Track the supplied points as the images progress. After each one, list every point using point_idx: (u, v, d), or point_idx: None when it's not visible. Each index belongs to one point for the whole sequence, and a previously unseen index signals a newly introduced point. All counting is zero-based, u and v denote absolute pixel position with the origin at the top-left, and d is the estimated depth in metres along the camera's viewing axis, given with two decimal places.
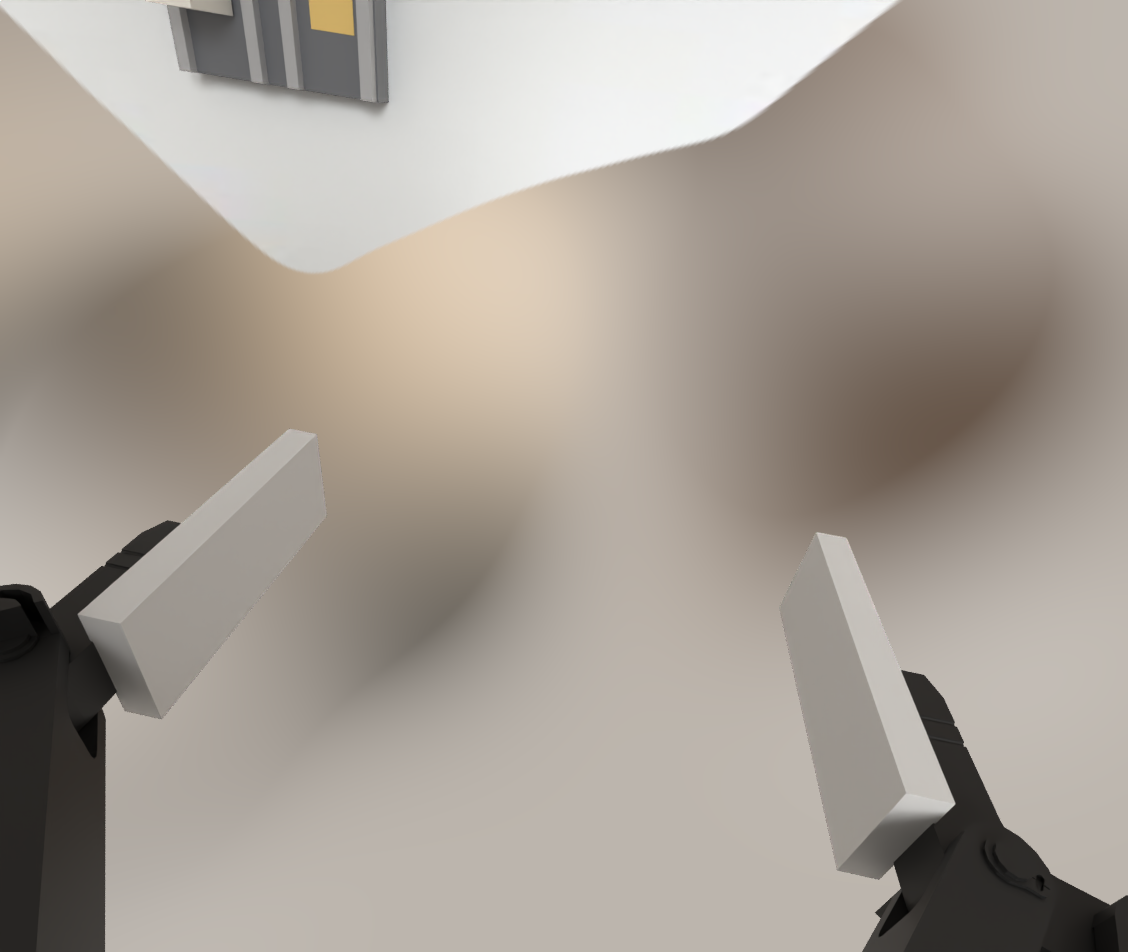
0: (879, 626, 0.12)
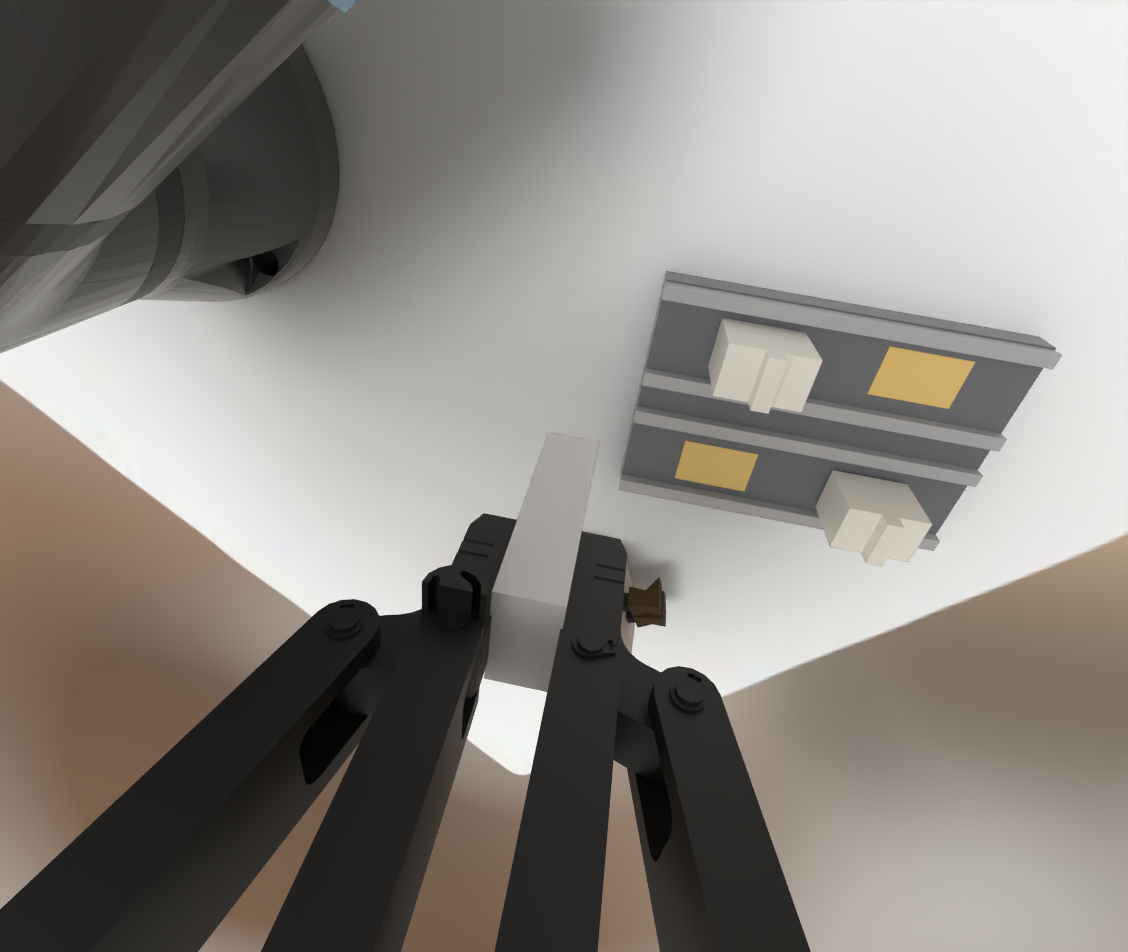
0: None
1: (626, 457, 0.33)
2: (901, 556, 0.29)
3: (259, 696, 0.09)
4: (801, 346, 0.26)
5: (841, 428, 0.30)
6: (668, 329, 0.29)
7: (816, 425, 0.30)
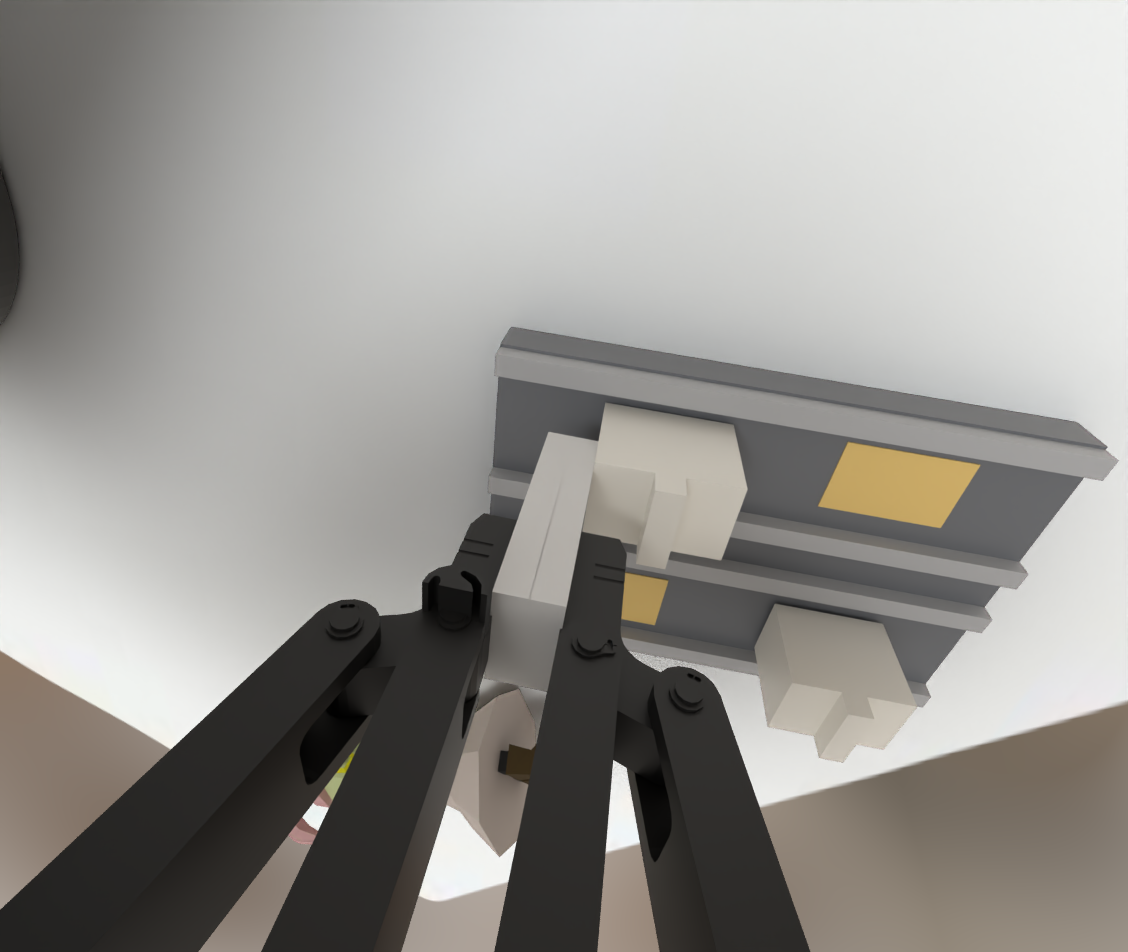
0: None
1: None
2: (873, 742, 0.20)
3: (259, 696, 0.09)
4: (718, 457, 0.16)
5: (783, 550, 0.20)
6: (516, 414, 0.19)
7: (747, 545, 0.21)
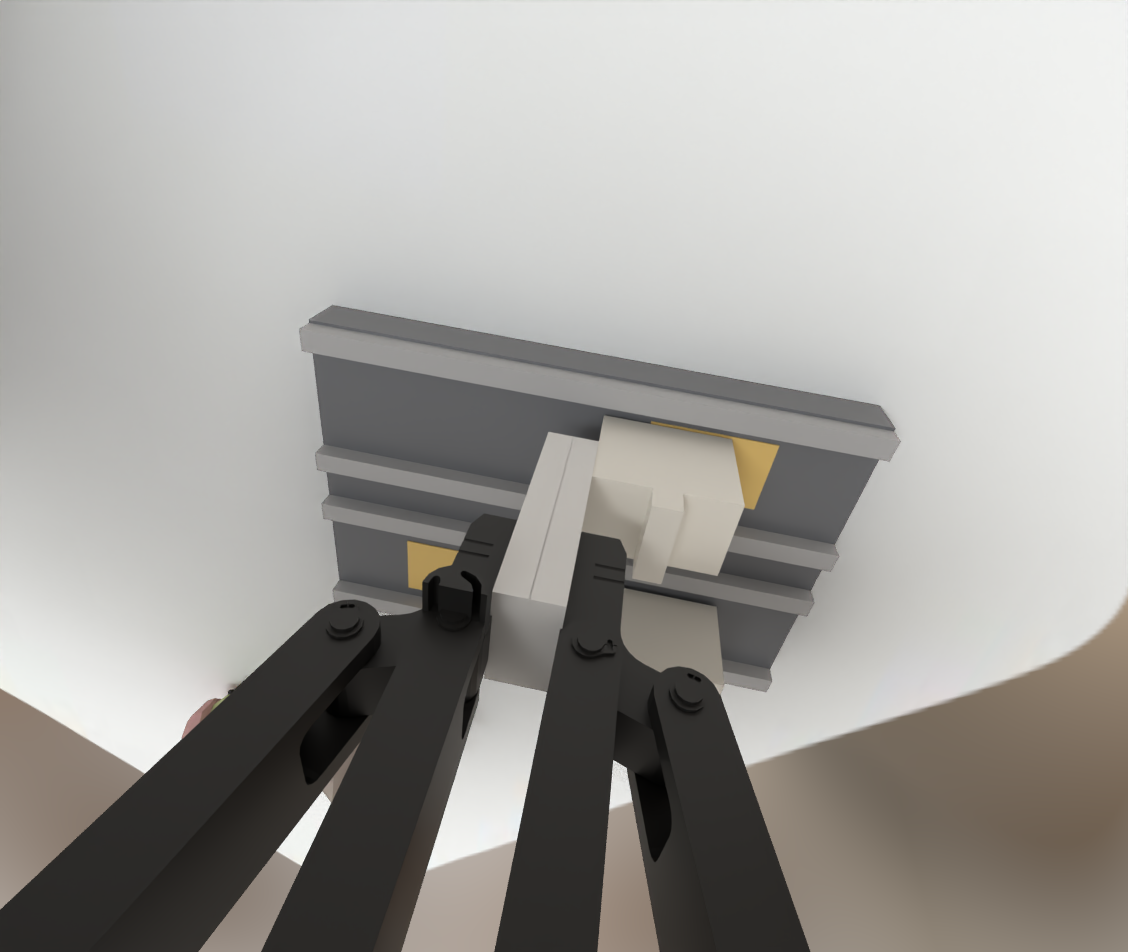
0: None
1: (338, 559, 0.24)
2: None
3: (259, 696, 0.09)
4: (716, 473, 0.16)
5: None
6: (336, 391, 0.19)
7: None
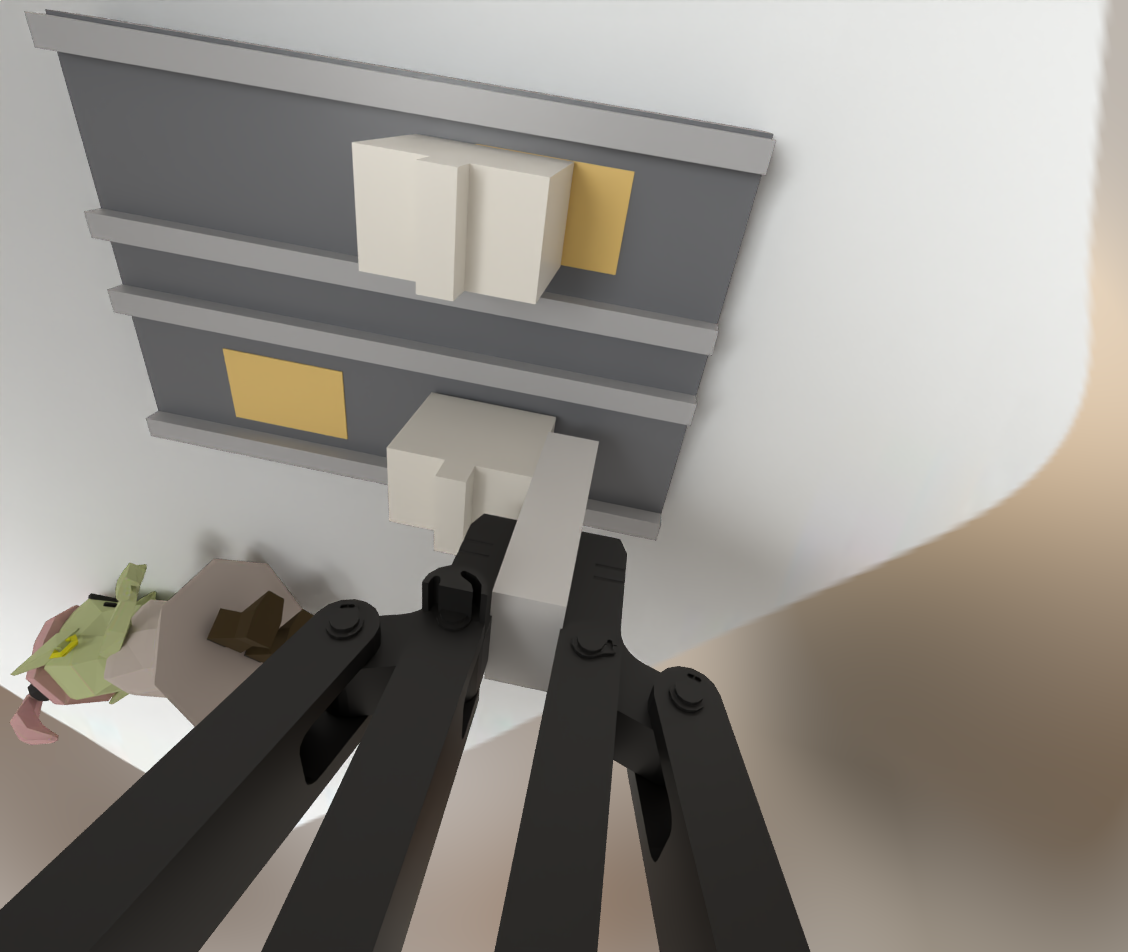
0: None
1: (151, 381, 0.20)
2: None
3: (259, 696, 0.09)
4: (531, 165, 0.12)
5: (453, 319, 0.17)
6: (99, 124, 0.16)
7: (411, 314, 0.17)
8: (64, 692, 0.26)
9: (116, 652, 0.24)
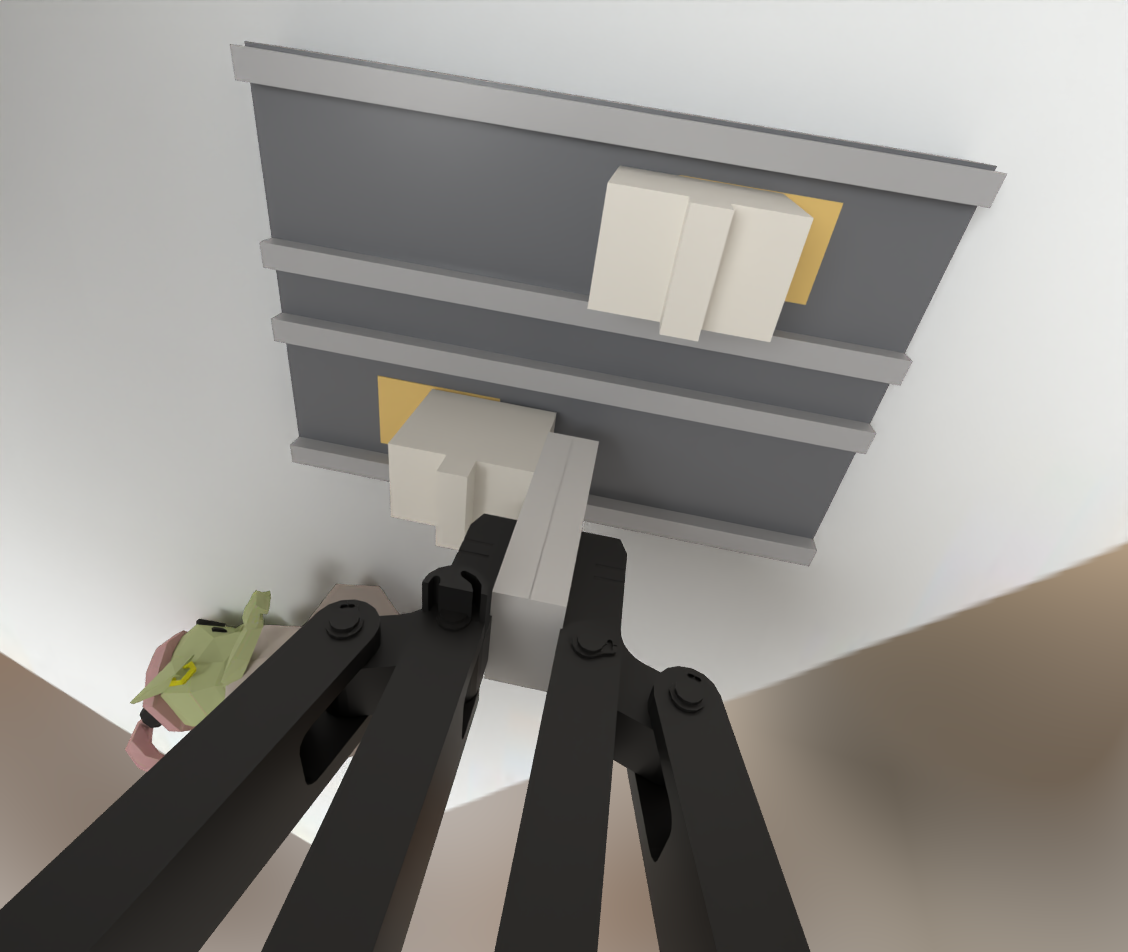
0: None
1: (297, 407, 0.20)
2: None
3: (259, 696, 0.09)
4: (770, 202, 0.12)
5: (626, 348, 0.17)
6: (283, 154, 0.15)
7: (582, 343, 0.17)
8: (179, 719, 0.26)
9: (238, 680, 0.24)
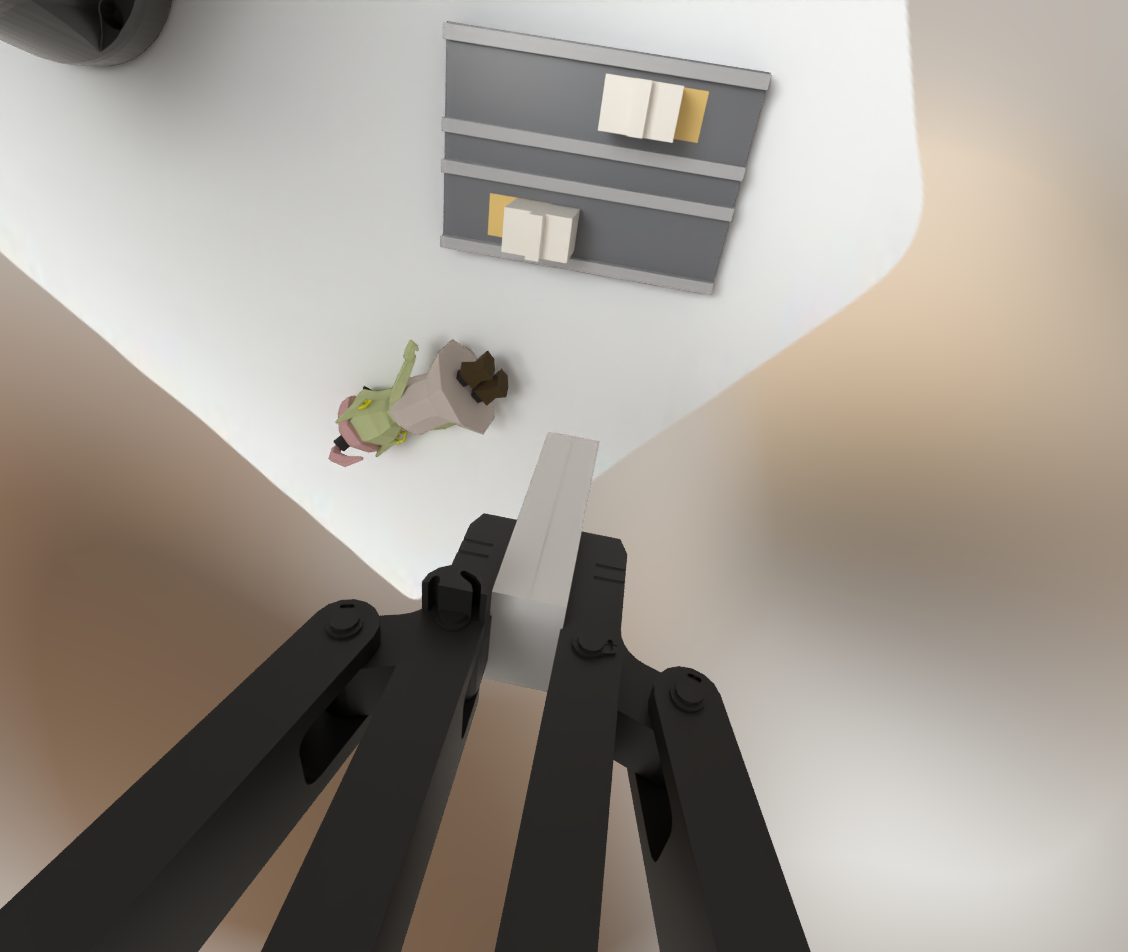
0: None
1: (444, 215, 0.38)
2: (559, 257, 0.35)
3: (259, 696, 0.09)
4: None
5: (615, 170, 0.35)
6: (457, 74, 0.33)
7: (594, 168, 0.35)
8: (360, 437, 0.45)
9: (398, 400, 0.43)
